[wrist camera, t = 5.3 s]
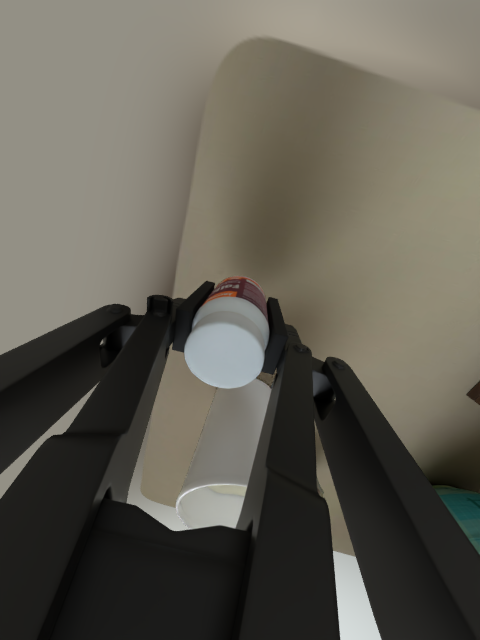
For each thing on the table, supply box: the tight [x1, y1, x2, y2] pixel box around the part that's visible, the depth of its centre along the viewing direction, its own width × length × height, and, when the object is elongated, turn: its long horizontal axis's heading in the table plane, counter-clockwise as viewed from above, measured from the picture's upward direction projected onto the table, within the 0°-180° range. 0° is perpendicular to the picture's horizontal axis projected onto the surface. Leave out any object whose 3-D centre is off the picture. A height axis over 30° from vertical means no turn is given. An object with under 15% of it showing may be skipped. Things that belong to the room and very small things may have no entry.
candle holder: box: [176, 378, 271, 529], centre depth 20 cm, size 10×10×12 cm
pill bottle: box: [184, 276, 270, 389], centre depth 13 cm, size 5×5×8 cm
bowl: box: [433, 485, 480, 555], centre depth 26 cm, size 22×22×10 cm
